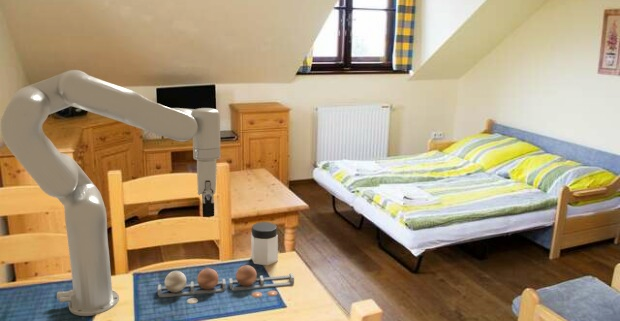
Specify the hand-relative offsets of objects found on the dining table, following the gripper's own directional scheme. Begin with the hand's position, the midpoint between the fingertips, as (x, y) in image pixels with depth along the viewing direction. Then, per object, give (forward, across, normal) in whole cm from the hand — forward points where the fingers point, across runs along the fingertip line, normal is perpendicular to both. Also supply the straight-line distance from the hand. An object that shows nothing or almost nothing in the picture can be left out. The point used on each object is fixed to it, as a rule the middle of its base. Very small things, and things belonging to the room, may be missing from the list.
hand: (208, 210), depth 147 cm
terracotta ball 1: (+22, +5, -1) cm, 22 cm away
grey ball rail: (+22, +5, +5) cm, 24 cm away
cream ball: (+22, +6, -10) cm, 25 cm away
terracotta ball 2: (+22, +5, +10) cm, 25 cm away
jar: (+22, -11, +18) cm, 31 cm away
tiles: (+22, +12, +5) cm, 26 cm away
